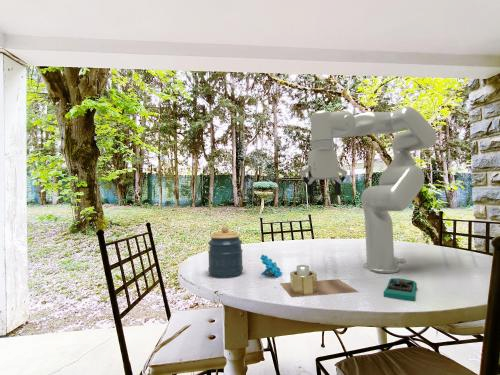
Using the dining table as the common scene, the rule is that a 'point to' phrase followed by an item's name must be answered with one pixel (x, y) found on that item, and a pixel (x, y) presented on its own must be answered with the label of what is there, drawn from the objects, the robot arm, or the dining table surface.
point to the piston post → (303, 270)
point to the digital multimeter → (401, 289)
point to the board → (323, 288)
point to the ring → (303, 283)
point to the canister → (225, 254)
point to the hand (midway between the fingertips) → (324, 195)
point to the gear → (270, 266)
